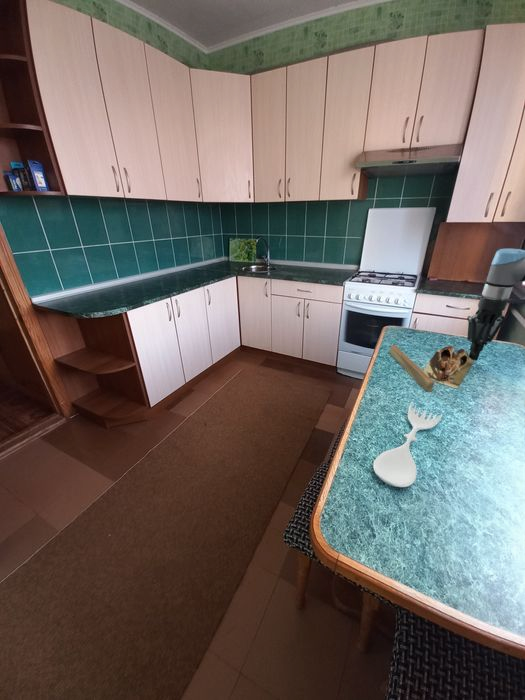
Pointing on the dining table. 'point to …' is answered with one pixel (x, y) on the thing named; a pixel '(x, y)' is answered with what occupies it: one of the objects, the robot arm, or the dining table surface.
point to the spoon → (403, 453)
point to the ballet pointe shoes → (448, 366)
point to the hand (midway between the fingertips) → (472, 358)
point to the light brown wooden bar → (412, 368)
